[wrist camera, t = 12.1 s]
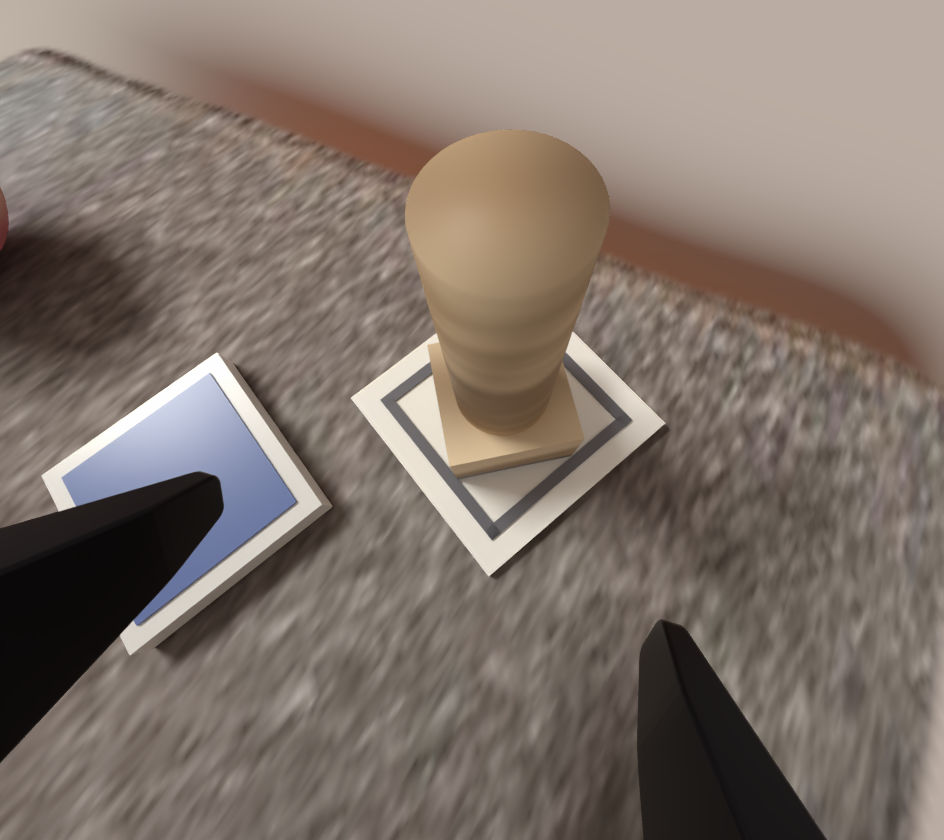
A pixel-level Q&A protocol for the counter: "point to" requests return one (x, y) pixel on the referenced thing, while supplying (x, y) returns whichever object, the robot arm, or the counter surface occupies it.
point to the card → (516, 489)
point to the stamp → (505, 290)
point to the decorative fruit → (3, 220)
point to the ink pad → (209, 450)
